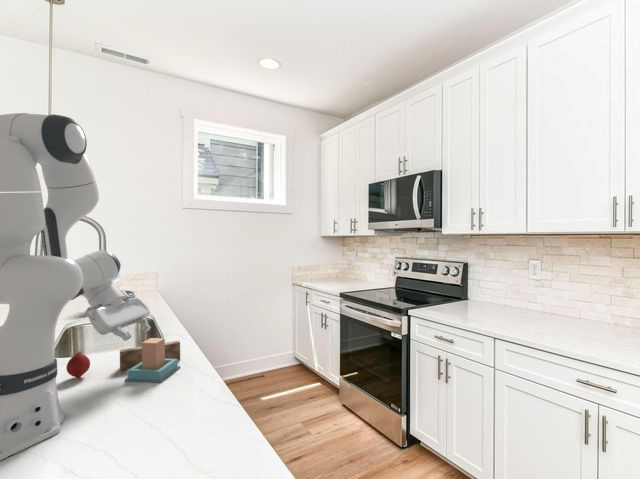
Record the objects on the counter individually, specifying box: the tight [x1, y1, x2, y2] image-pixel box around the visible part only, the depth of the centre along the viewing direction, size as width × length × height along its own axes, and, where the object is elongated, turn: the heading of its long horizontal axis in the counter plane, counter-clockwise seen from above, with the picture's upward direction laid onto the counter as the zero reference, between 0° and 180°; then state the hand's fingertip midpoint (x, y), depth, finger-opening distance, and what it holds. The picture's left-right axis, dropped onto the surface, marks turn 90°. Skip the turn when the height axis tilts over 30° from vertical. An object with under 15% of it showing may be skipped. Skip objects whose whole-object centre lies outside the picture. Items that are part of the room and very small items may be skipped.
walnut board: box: [119, 340, 181, 372], centre depth 113 cm, size 18×2×6 cm, turn 121°
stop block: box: [141, 337, 166, 370], centre depth 104 cm, size 5×5×10 cm
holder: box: [124, 359, 181, 384], centre depth 104 cm, size 11×11×3 cm
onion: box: [66, 350, 91, 379], centre depth 102 cm, size 6×6×8 cm
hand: (138, 334), depth 104 cm, fingers open, 8 cm apart
